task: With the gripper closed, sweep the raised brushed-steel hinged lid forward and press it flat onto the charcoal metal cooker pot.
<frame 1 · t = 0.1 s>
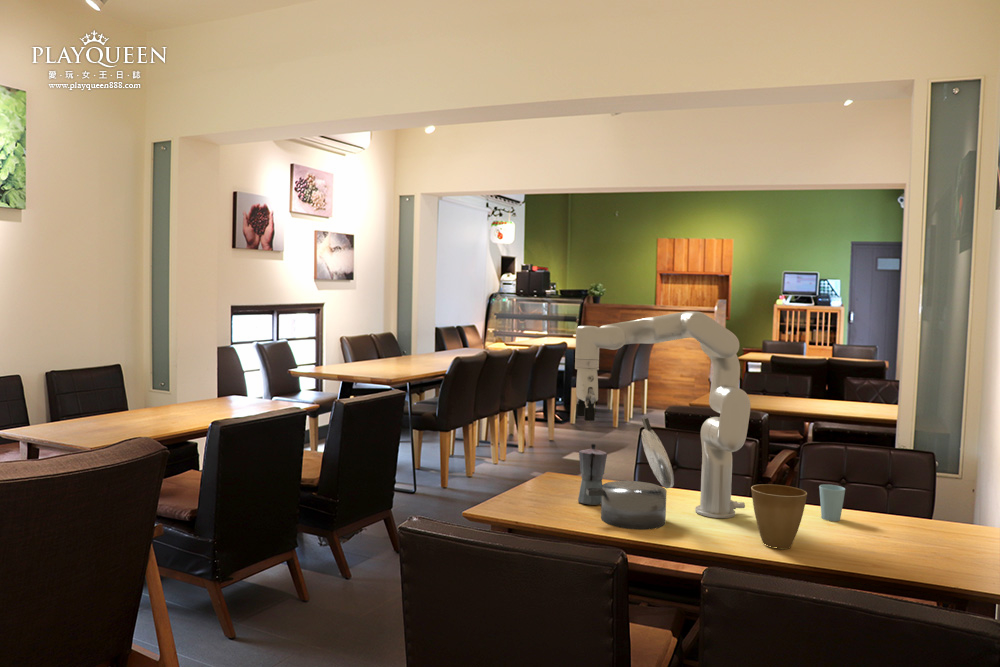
hand: (585, 418, 231), 31 cm above the table, tool pointing down, fingers open, 9 cm apart
plant pot: (776, 545, 208), on the table
cooker pot: (632, 519, 229), on the table
cup: (830, 519, 236), on the table
cooker lid: (658, 451, 229), point 22 cm above the table, hinge at 70.0°
moka pot: (591, 503, 247), on the table
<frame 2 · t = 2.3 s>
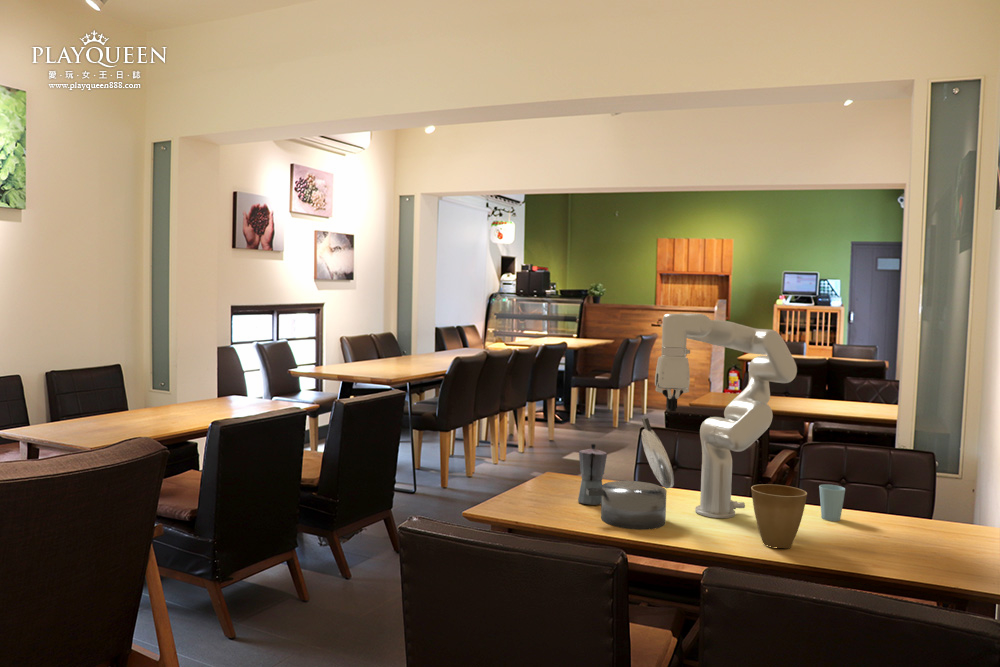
hand: (671, 410, 229), 35 cm above the table, tool pointing down, fingers closed
nothing on the table moved.
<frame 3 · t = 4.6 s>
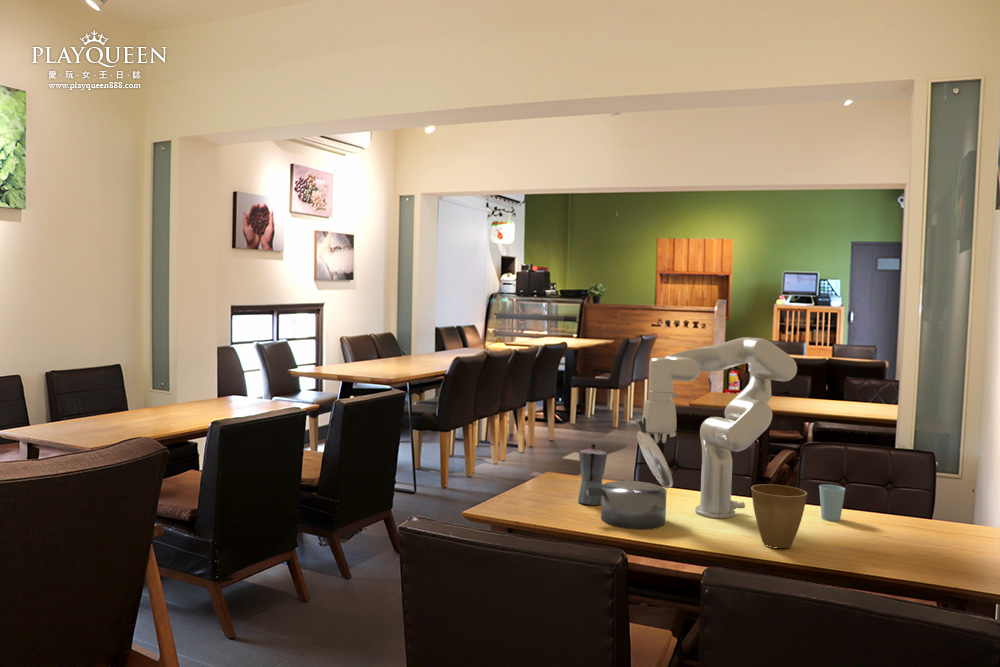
hand: (658, 454, 229), 21 cm above the table, tool pointing down, fingers closed
cooker lid: (654, 452, 229), point 21 cm above the table, hinge at 64.6°, touching gripper
everything else where it was.
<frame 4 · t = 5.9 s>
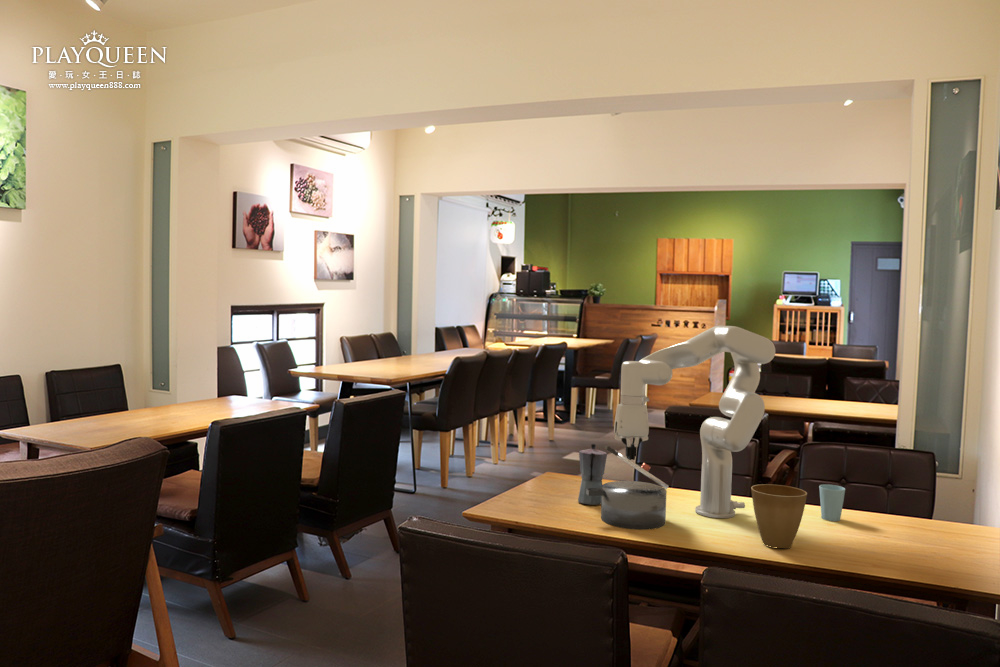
hand: (630, 458, 228), 19 cm above the table, tool pointing down, fingers closed
cooker lid: (637, 464, 228), point 18 cm above the table, hinge at 32.3°
everything else where it was.
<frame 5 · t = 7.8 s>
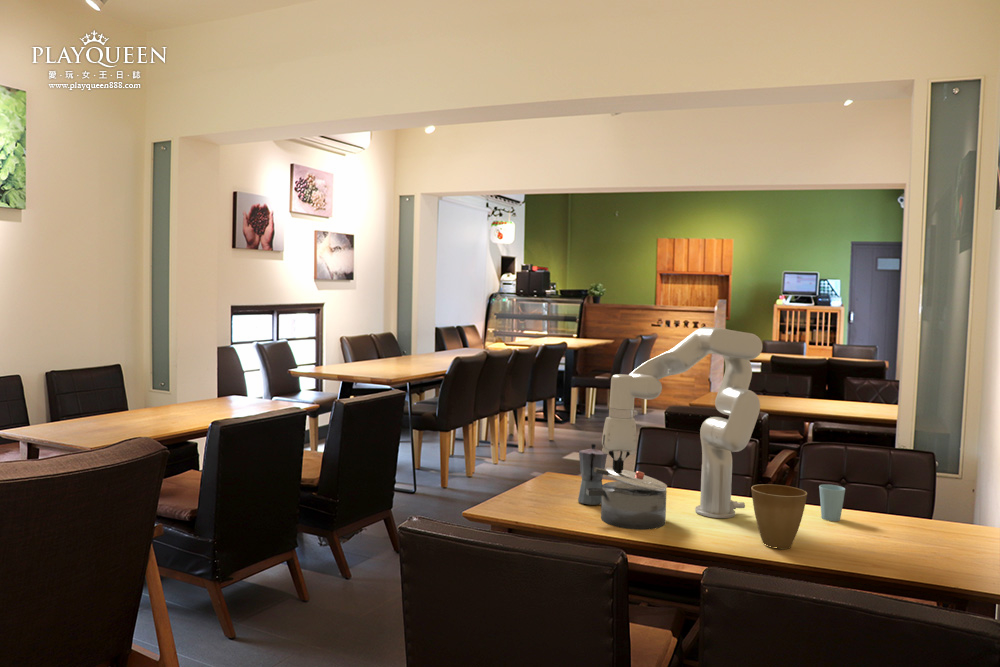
hand: (617, 472, 227), 15 cm above the table, tool pointing down, fingers closed
cooker lid: (630, 475, 228), point 14 cm above the table, hinge at 12.9°, touching gripper
everything else where it was.
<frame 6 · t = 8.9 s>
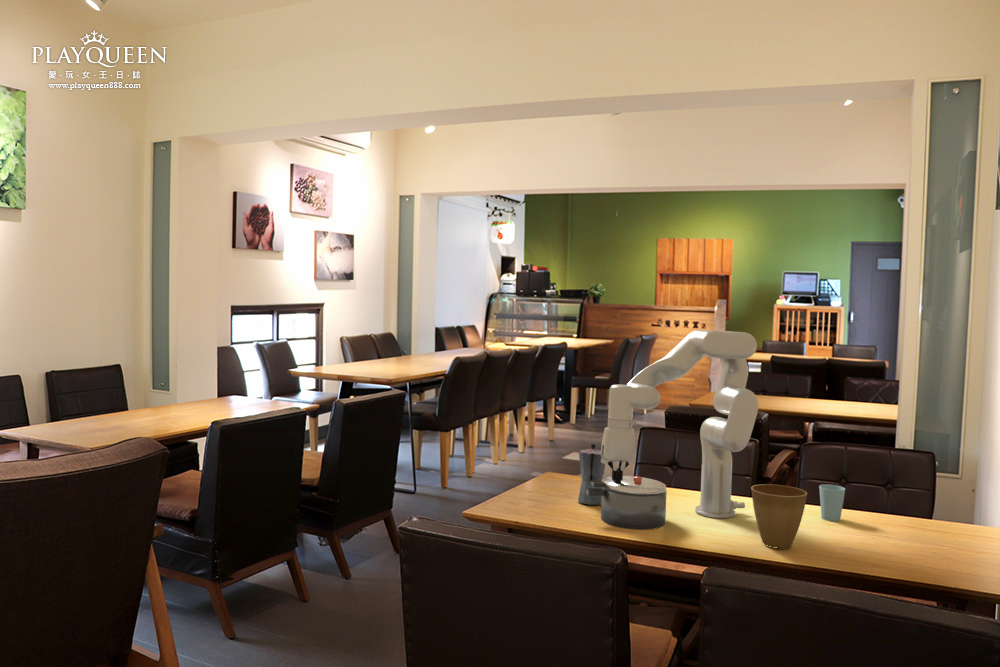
hand: (616, 482, 227), 12 cm above the table, tool pointing down, fingers closed
cooker lid: (628, 482, 228), point 12 cm above the table, hinge at 2.0°, touching gripper
everything else where it was.
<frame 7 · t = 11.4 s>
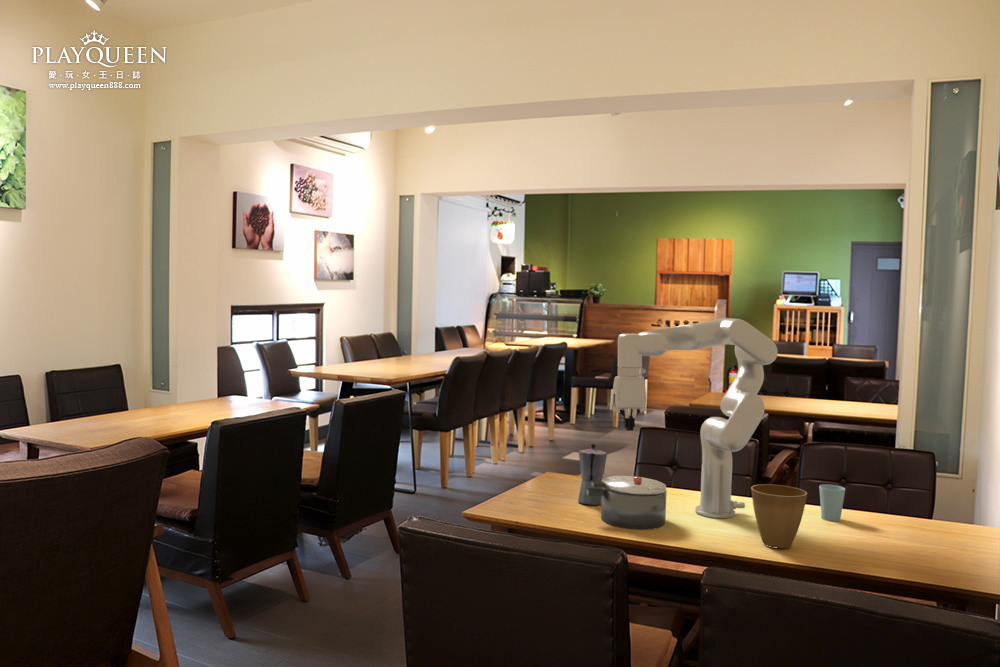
hand: (629, 429, 231), 28 cm above the table, tool pointing down, fingers closed
cooker lid: (628, 482, 228), point 12 cm above the table, hinge at 1.8°
everything else where it was.
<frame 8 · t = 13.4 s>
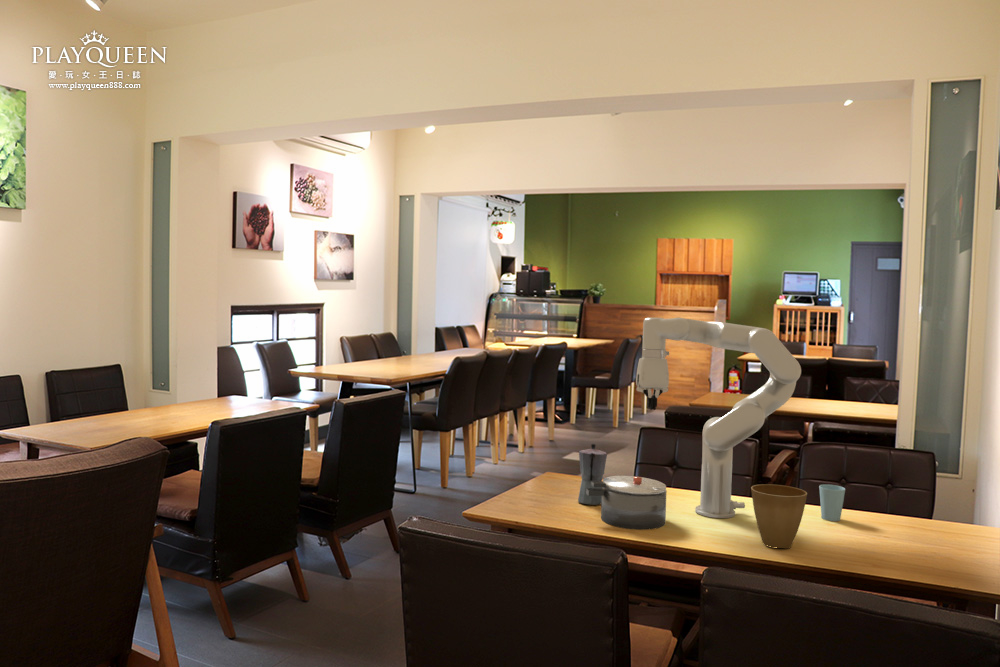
hand: (651, 409, 243), 33 cm above the table, tool pointing down, fingers closed
nothing on the table moved.
at the end: cooker lid at +2° (first picture: +70°); moka pot moved 0.2 cm from its start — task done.
